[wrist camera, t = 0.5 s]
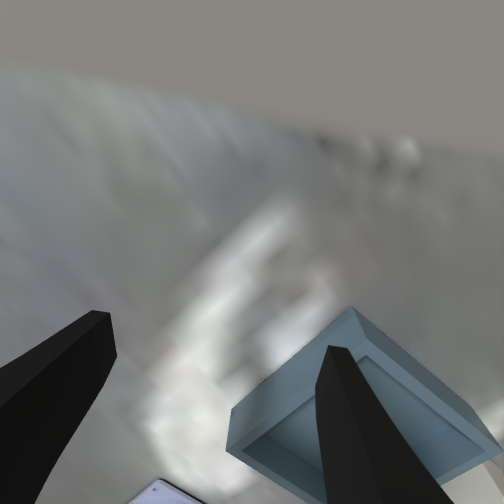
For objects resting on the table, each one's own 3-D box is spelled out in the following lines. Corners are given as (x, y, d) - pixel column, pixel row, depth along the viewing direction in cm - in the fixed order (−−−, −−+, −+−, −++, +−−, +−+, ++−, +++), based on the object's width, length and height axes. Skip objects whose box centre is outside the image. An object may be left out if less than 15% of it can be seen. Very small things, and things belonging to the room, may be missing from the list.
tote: (344, 484, 27) (354, 532, 24) (231, 408, 25) (225, 450, 21) (471, 406, 23) (503, 451, 20) (351, 306, 20) (366, 338, 17)
